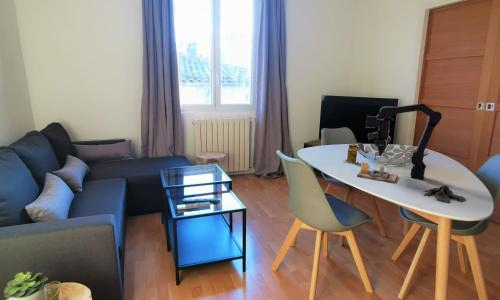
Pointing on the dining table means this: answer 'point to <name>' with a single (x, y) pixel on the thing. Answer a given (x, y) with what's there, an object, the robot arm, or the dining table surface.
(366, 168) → the link
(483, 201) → the dining table surface
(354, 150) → the condiment
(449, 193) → the cloth
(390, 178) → the keeper plate
